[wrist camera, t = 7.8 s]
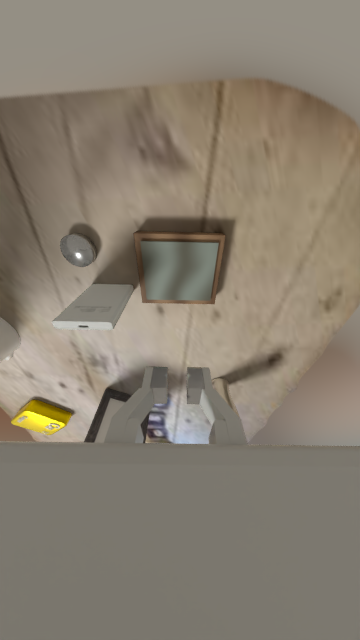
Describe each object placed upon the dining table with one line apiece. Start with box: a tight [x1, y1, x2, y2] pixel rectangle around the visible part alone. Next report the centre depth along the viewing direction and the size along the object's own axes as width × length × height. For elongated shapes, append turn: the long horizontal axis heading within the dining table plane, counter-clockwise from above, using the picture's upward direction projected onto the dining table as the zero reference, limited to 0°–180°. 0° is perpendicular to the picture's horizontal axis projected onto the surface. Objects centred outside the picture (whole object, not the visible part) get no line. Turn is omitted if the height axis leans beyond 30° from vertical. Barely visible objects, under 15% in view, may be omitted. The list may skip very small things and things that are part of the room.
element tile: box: [11, 400, 72, 435], centre depth 61 cm, size 15×15×5 cm
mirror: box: [134, 231, 226, 304], centre depth 29 cm, size 14×12×3 cm
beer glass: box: [211, 378, 240, 418], centre depth 45 cm, size 7×7×15 cm
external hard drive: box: [52, 284, 134, 330], centre depth 27 cm, size 2×8×12 cm, turn 89°
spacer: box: [60, 233, 97, 267], centre depth 28 cm, size 5×5×2 cm
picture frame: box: [84, 388, 150, 443], centre depth 47 cm, size 16×2×21 cm, turn 58°
